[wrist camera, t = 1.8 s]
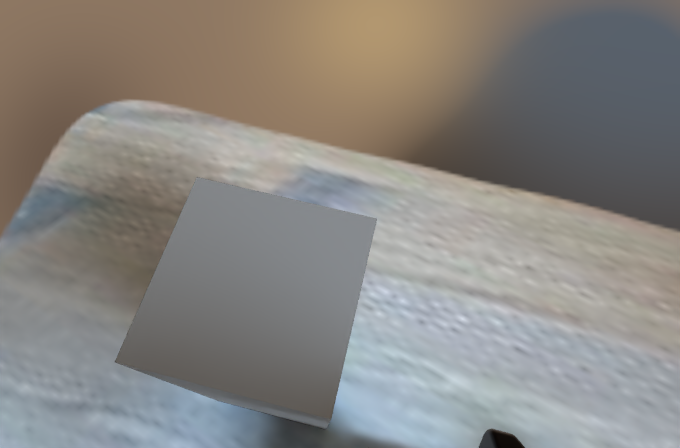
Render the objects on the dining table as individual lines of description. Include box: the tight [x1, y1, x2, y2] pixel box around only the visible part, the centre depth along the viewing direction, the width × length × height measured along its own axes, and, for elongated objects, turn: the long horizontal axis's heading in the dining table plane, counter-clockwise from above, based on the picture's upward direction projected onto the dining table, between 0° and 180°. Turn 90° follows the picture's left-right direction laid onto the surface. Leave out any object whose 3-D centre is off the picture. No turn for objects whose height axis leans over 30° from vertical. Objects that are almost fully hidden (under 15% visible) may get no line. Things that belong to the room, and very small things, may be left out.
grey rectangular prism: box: [115, 177, 377, 429], centre depth 13 cm, size 4×4×9 cm
